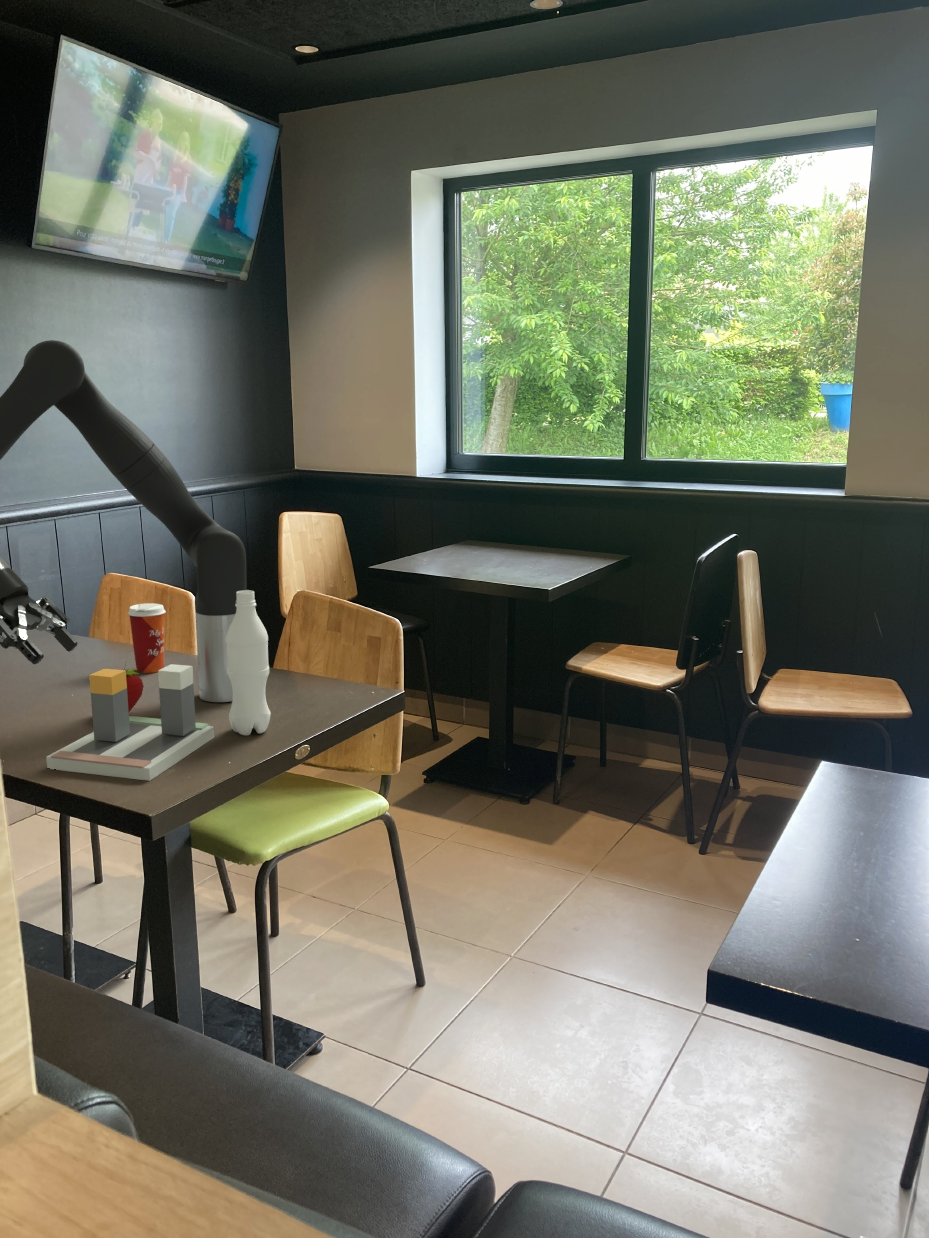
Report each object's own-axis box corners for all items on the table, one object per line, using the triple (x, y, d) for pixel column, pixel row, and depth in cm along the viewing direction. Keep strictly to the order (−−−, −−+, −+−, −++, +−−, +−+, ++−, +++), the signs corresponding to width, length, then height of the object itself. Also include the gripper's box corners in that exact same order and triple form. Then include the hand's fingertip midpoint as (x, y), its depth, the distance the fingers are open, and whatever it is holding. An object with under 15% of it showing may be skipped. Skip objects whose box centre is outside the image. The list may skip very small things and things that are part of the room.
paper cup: (162, 675, 198) (158, 610, 195) (126, 674, 198) (121, 609, 195) (173, 665, 205) (170, 602, 202) (139, 664, 205) (135, 602, 202)
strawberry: (121, 706, 177) (118, 655, 175) (153, 712, 174) (149, 660, 172) (98, 715, 172) (94, 663, 169) (130, 721, 169) (126, 668, 166)
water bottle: (235, 740, 160) (229, 597, 155) (225, 727, 166) (219, 589, 161) (276, 733, 163) (271, 594, 158) (264, 721, 169) (260, 586, 164)
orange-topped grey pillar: (108, 731, 156) (104, 668, 154) (130, 733, 156) (125, 670, 153) (94, 739, 153) (89, 675, 150) (115, 741, 152) (111, 677, 149)
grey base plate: (122, 727, 165) (117, 654, 162) (214, 736, 161) (211, 662, 158) (46, 769, 146) (39, 687, 143) (149, 781, 142) (143, 697, 139)
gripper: (-30, 574, 145) (40, 650, 145) (32, 560, 159) (96, 630, 159) (-55, 605, 148) (14, 680, 148) (8, 588, 161) (72, 657, 161)
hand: (57, 654), depth 153 cm, fingers open, 8 cm apart
